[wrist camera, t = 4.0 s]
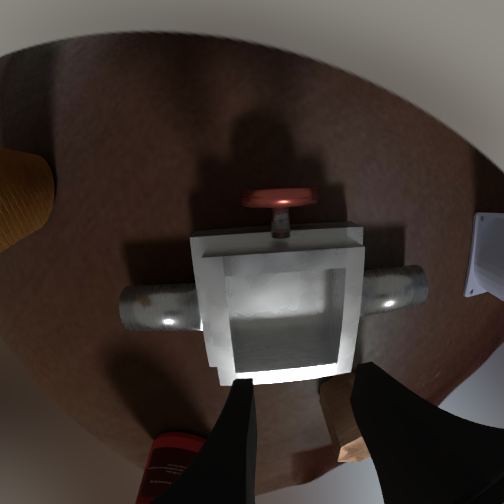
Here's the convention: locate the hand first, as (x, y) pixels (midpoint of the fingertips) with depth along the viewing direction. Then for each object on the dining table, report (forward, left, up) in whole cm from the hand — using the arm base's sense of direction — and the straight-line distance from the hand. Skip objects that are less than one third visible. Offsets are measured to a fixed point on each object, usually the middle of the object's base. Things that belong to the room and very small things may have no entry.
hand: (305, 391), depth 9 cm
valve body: (0, 0, -9) cm, 9 cm away
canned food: (+10, +19, -10) cm, 24 cm away
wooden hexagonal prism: (-6, +10, -9) cm, 15 cm away
